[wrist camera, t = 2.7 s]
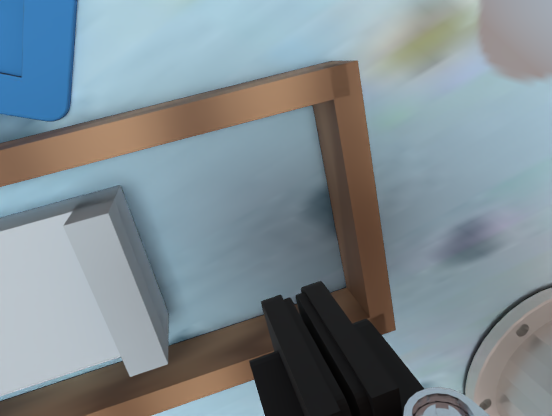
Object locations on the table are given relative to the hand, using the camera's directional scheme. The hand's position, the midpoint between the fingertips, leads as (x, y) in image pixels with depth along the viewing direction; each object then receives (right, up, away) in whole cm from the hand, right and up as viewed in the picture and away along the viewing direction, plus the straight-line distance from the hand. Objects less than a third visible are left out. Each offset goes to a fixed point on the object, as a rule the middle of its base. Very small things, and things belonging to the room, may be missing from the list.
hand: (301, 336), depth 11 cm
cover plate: (-13, -1, +8) cm, 16 cm away
